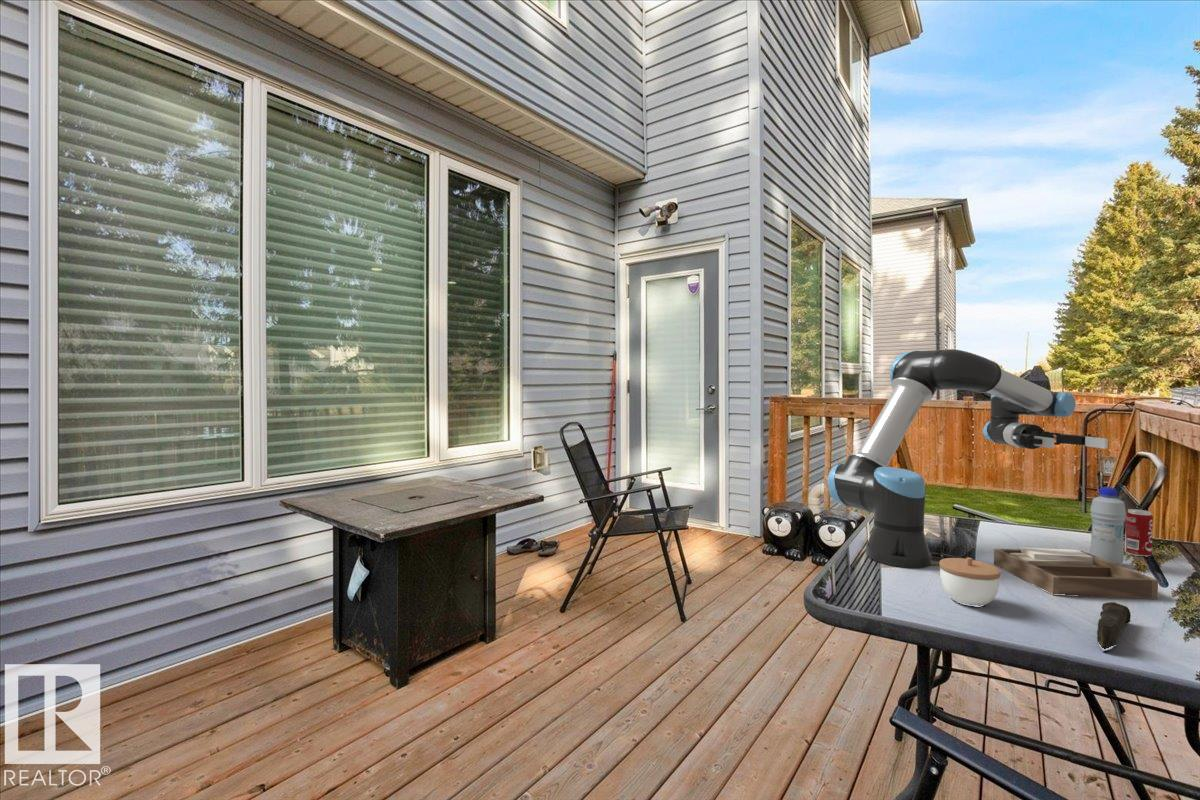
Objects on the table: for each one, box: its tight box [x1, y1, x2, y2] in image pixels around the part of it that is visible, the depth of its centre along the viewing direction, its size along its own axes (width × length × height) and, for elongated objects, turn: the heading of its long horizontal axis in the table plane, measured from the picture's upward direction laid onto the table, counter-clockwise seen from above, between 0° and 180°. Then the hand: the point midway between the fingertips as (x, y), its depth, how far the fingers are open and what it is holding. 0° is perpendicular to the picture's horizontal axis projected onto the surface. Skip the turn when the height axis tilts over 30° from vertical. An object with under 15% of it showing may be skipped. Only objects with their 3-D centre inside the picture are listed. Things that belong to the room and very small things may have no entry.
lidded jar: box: [939, 557, 1002, 606], centre depth 115 cm, size 11×11×9 cm
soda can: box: [1124, 508, 1154, 557], centre depth 146 cm, size 5×5×12 cm
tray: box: [993, 548, 1159, 599], centre depth 127 cm, size 20×21×4 cm
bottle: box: [1089, 486, 1127, 566], centre depth 138 cm, size 7×7×20 cm
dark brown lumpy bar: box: [1096, 601, 1132, 649], centre depth 100 cm, size 19×4×5 cm, turn 129°
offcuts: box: [1010, 546, 1095, 566], centre depth 132 cm, size 7×17×4 cm, turn 85°
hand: (1079, 443), depth 147 cm, fingers open, 13 cm apart
